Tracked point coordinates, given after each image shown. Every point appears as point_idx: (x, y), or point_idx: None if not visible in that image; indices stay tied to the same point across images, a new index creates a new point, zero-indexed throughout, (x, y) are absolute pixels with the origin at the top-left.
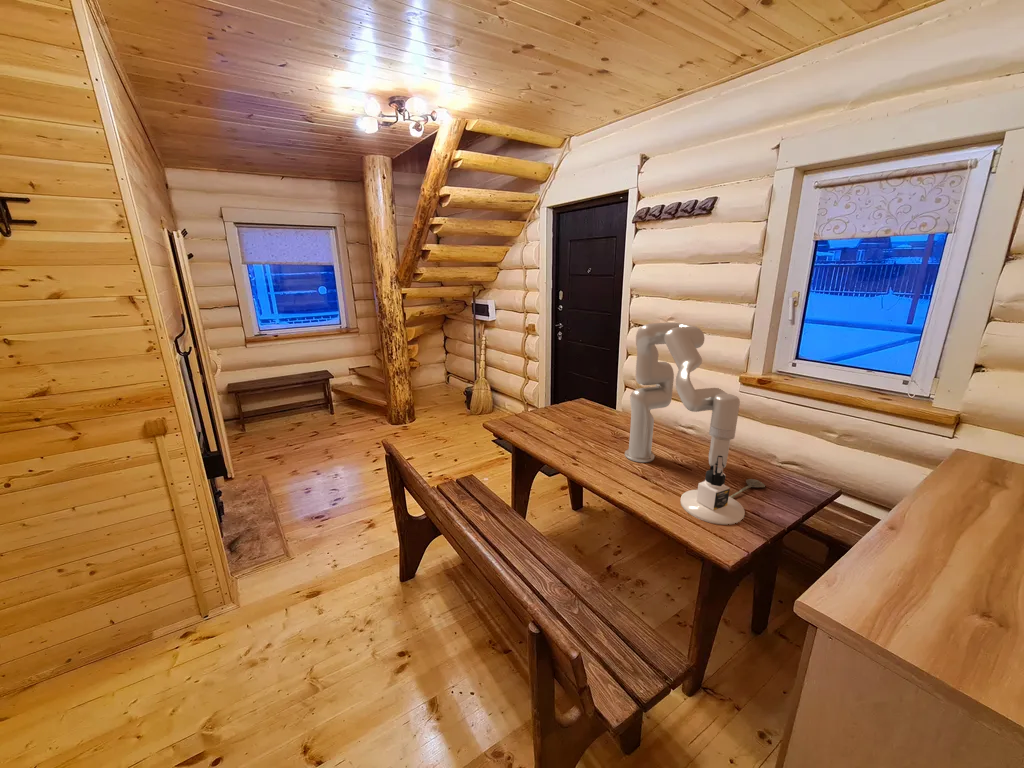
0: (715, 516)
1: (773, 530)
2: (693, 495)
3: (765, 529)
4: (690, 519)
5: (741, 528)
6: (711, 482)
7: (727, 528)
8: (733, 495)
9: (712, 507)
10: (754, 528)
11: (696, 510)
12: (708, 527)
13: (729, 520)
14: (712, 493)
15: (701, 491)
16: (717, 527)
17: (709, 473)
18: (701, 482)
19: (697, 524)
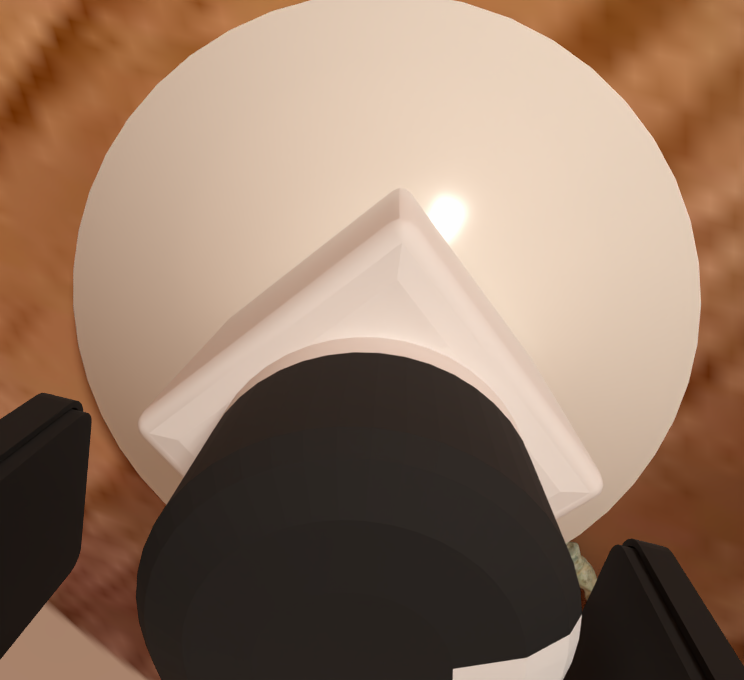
0: (145, 313)
1: (140, 662)
2: (549, 192)
3: (136, 622)
4: (93, 50)
5: (93, 473)
6: (19, 415)
7: (54, 367)
8: (588, 591)
9: (228, 320)
10: (125, 560)
11: (210, 142)
12: (10, 204)
13: (114, 416)
14: (193, 369)
15: (343, 245)
16: (40, 288)
17: (272, 496)
18: (426, 278)
19: (24, 106)
